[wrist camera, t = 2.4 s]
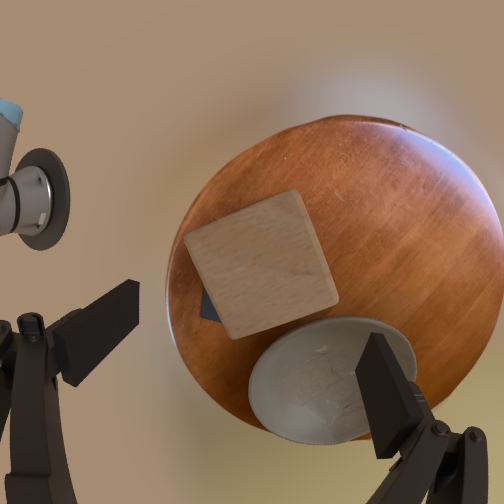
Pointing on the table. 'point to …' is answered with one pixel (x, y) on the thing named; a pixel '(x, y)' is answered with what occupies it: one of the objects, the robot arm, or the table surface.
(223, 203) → the table surface
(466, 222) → the table surface
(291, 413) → the bowl
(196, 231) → the wooden block
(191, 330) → the table surface
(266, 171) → the table surface
